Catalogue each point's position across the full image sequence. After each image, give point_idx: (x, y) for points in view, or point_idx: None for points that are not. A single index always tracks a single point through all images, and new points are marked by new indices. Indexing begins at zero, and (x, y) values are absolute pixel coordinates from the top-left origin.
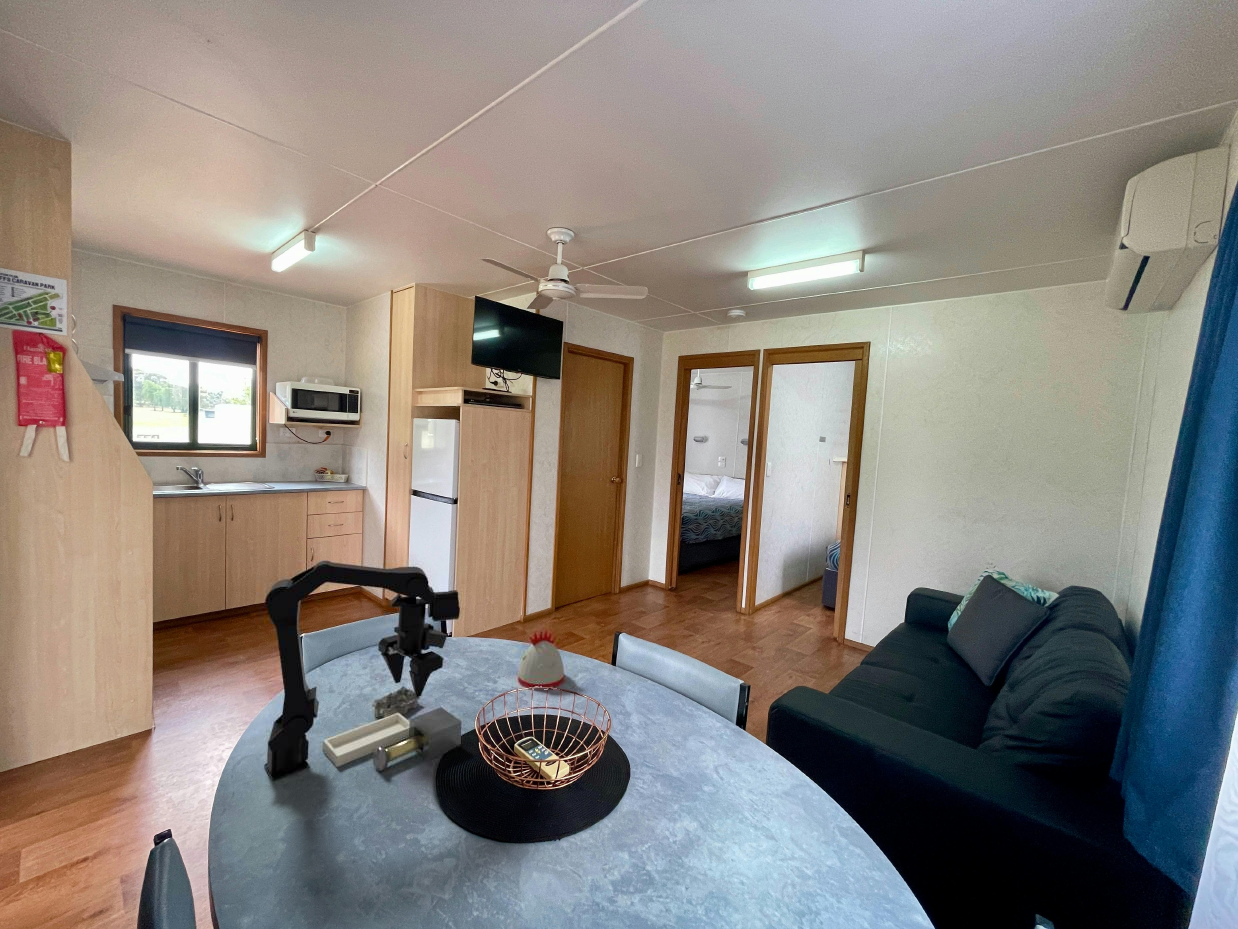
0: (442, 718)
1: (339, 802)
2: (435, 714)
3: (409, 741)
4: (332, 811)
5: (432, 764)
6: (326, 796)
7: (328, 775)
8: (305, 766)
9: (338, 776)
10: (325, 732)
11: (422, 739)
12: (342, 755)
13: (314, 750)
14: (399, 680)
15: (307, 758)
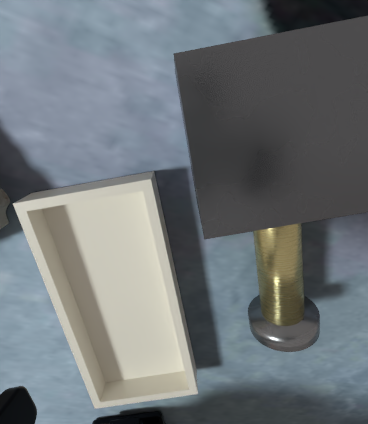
0: (301, 97)
1: (331, 380)
2: (235, 116)
3: (291, 246)
4: (349, 392)
5: None
6: (292, 394)
7: (218, 384)
8: (162, 419)
9: (236, 370)
10: (9, 367)
11: None
12: (195, 381)
13: None
14: (18, 410)
15: (138, 420)
